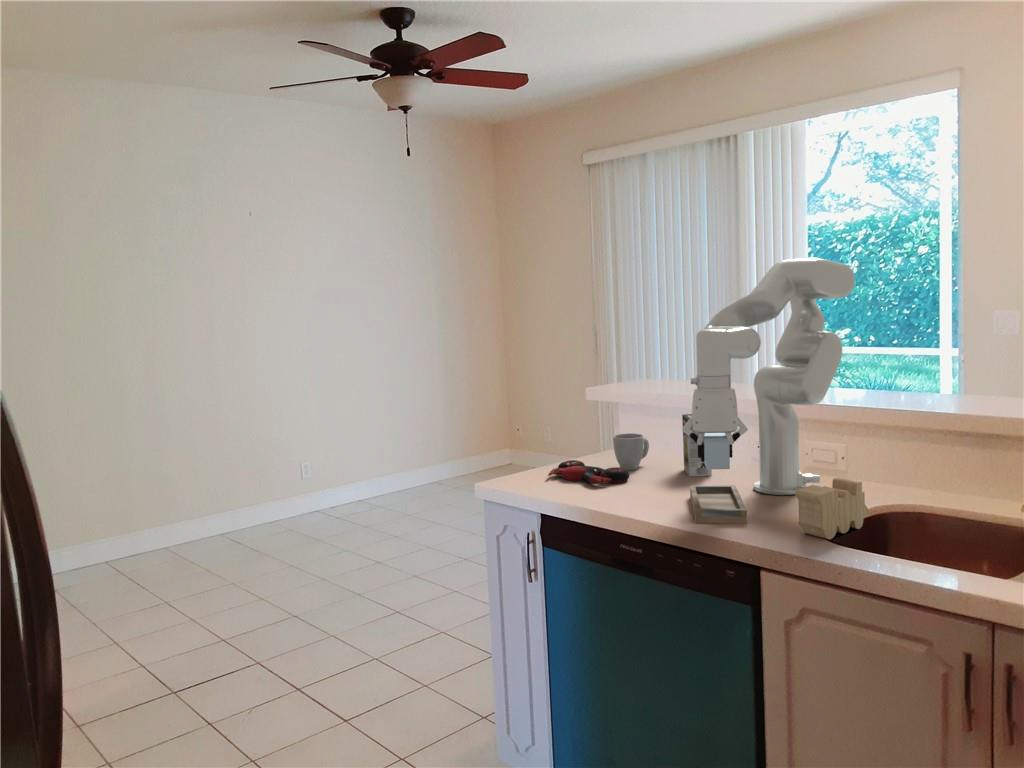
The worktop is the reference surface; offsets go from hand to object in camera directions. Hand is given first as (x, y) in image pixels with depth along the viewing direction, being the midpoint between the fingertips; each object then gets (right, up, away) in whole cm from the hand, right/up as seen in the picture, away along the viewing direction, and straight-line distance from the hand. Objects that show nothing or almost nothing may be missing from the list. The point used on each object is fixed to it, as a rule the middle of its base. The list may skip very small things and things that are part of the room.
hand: (715, 460), depth 182 cm
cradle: (+1, -12, +1) cm, 12 cm away
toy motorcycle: (-27, -10, +39) cm, 48 cm away
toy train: (+20, -13, -18) cm, 30 cm away
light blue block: (0, 0, 0) cm, 0 cm away
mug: (-11, -7, +50) cm, 52 cm away
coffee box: (+5, -8, +40) cm, 41 cm away
